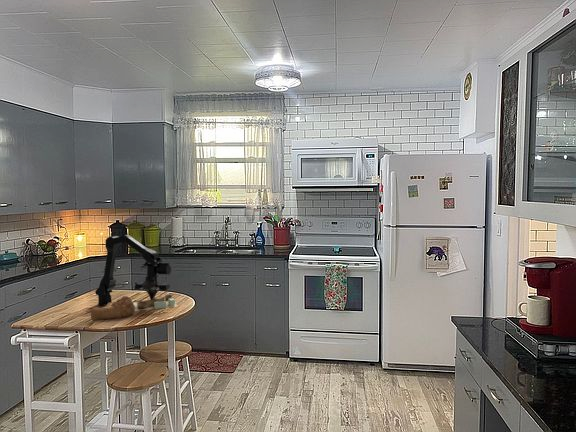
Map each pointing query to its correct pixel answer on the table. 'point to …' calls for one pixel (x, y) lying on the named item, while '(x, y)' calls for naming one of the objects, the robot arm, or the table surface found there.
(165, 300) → the board
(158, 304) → the socket blocks
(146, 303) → the hinged leg
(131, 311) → the tan rounded lump
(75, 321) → the table surface
